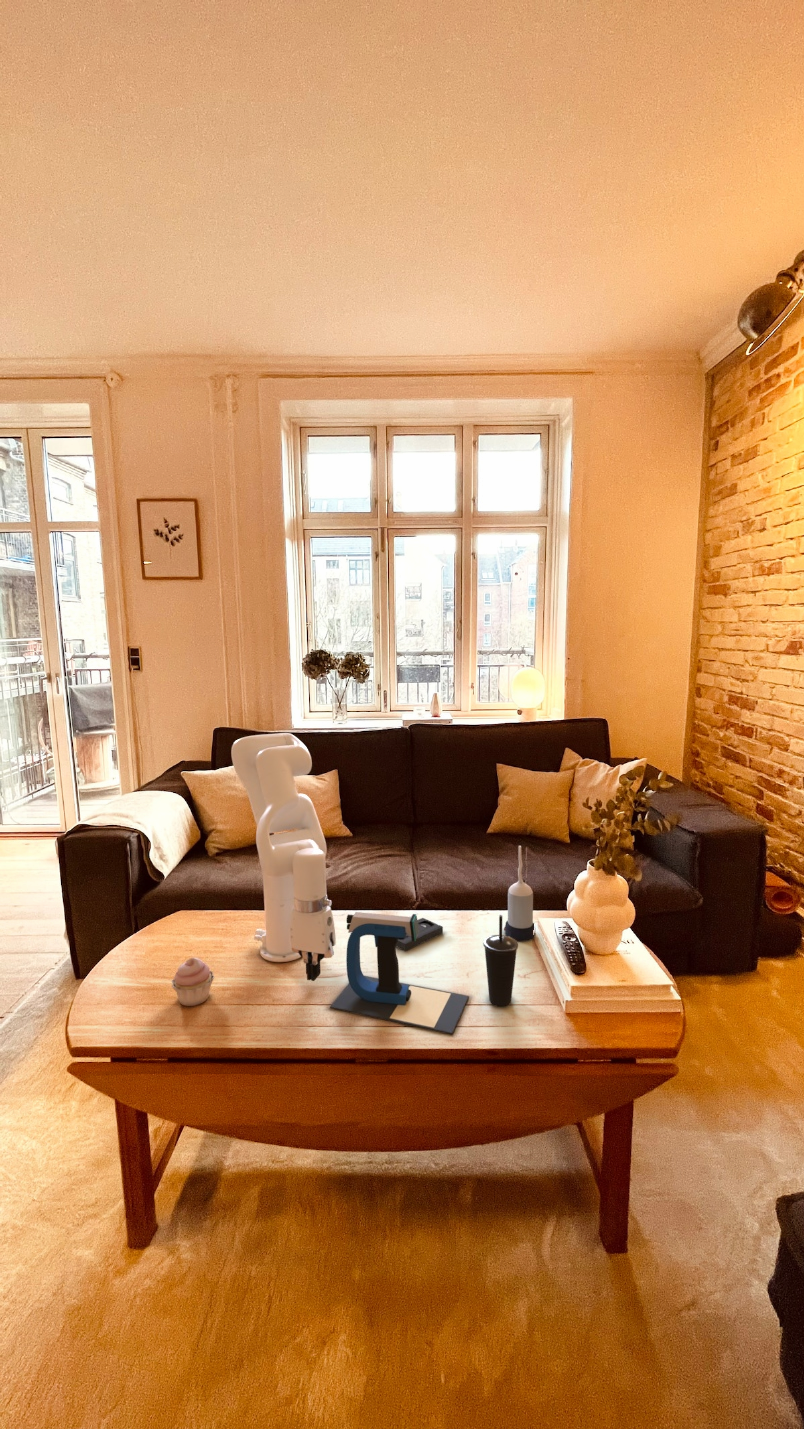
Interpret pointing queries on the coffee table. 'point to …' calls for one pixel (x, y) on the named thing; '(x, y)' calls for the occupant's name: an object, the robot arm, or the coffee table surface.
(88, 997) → the coffee table surface
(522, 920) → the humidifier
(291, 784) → the robot arm
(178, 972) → the cupcake
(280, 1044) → the coffee table surface
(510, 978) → the drinking cup
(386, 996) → the handheld scanner
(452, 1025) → the mat
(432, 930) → the vhs tape
